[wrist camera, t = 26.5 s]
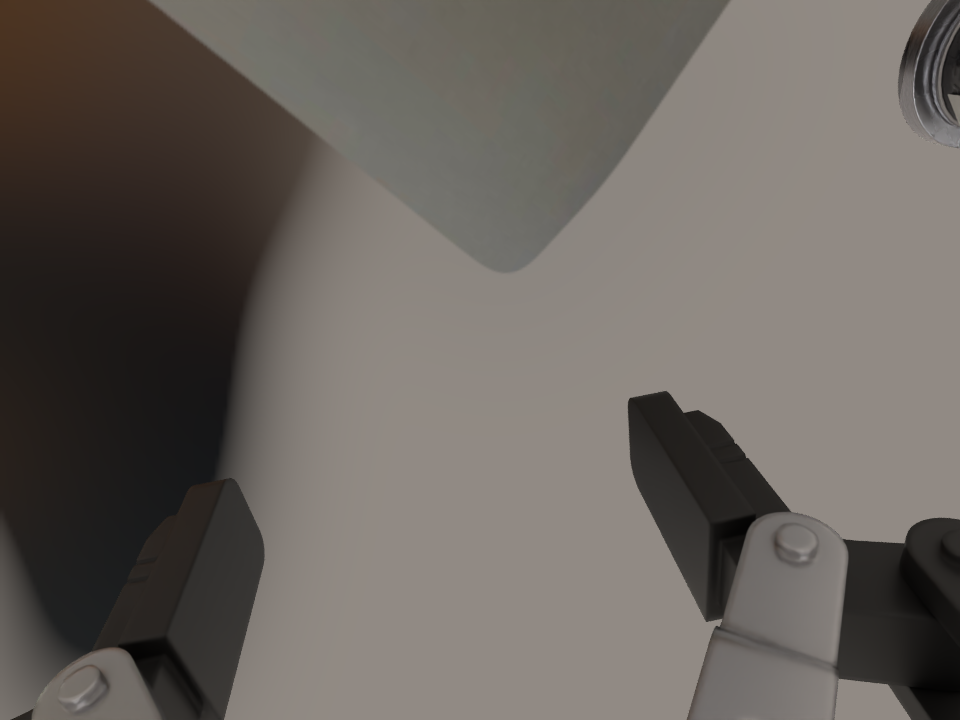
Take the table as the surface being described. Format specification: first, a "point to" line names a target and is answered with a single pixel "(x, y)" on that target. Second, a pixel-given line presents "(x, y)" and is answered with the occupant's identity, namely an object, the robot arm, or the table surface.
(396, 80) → the table surface
